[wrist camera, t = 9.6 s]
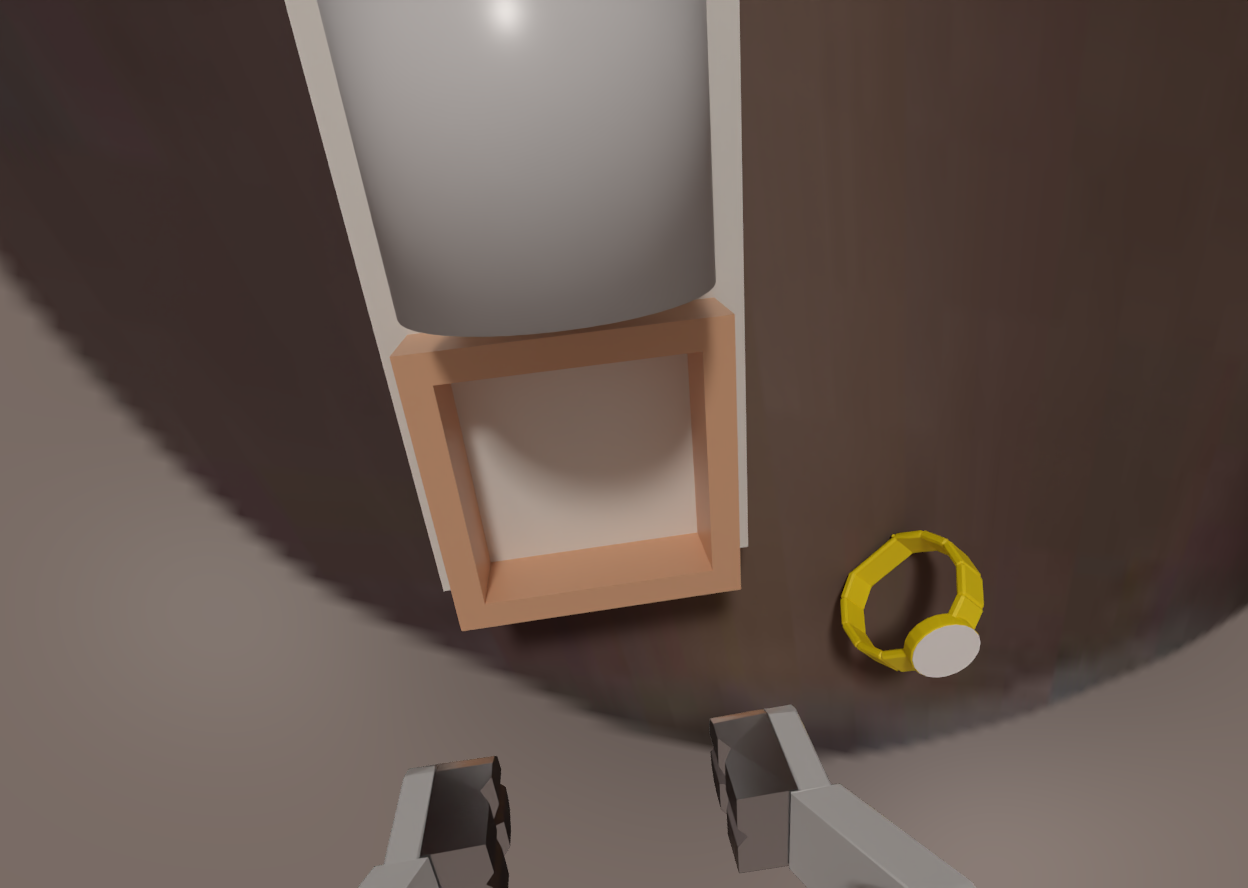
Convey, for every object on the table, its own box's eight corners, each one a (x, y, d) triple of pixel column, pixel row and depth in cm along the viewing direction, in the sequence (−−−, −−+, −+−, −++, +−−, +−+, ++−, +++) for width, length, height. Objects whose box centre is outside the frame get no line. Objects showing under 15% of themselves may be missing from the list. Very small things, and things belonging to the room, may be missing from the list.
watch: (906, 500, 29) (990, 580, 23) (942, 531, 29) (1031, 614, 24) (812, 590, 30) (871, 684, 25) (850, 616, 31) (914, 711, 26)
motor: (710, -82, 19) (890, -350, 9) (728, 508, 28) (830, 704, 18) (304, -47, 18) (10, -298, 8) (454, 547, 27) (398, 775, 17)
